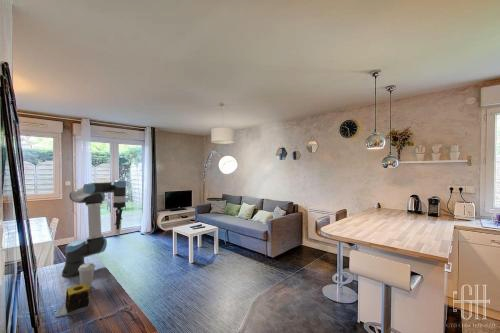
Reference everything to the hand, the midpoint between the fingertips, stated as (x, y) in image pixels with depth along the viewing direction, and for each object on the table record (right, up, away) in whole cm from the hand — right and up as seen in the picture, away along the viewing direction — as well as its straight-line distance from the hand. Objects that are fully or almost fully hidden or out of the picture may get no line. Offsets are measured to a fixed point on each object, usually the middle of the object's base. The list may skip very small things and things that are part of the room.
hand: (118, 231), depth 163 cm
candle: (-8, -36, -29) cm, 47 cm away
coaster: (-8, -36, -30) cm, 48 cm away
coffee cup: (-18, -36, -8) cm, 41 cm away
